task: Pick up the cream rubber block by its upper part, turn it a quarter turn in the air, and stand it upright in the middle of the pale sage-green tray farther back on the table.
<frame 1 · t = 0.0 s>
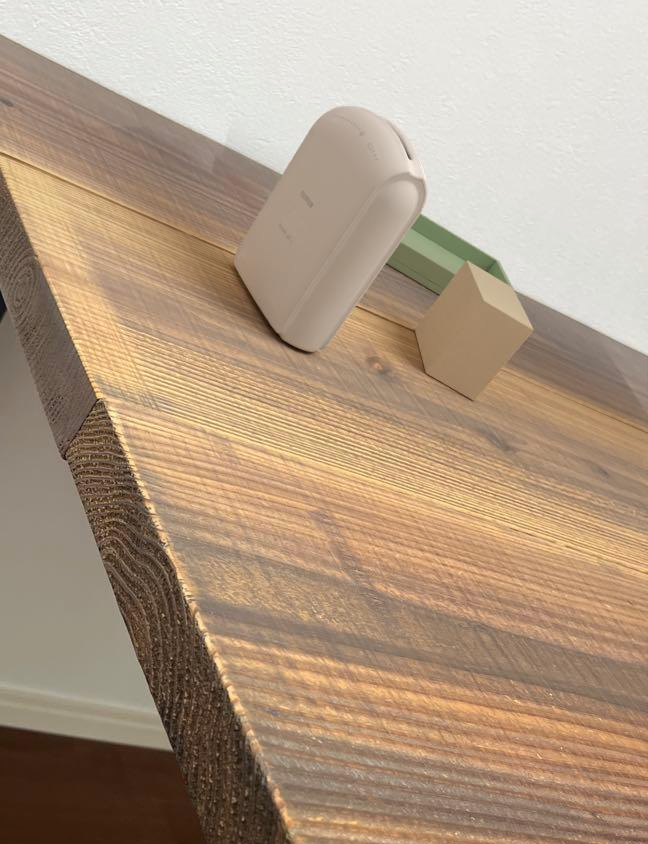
tray: (434, 269, 94), on the table
photo printer: (270, 309, 65), on the table
block: (442, 363, 73), on the table
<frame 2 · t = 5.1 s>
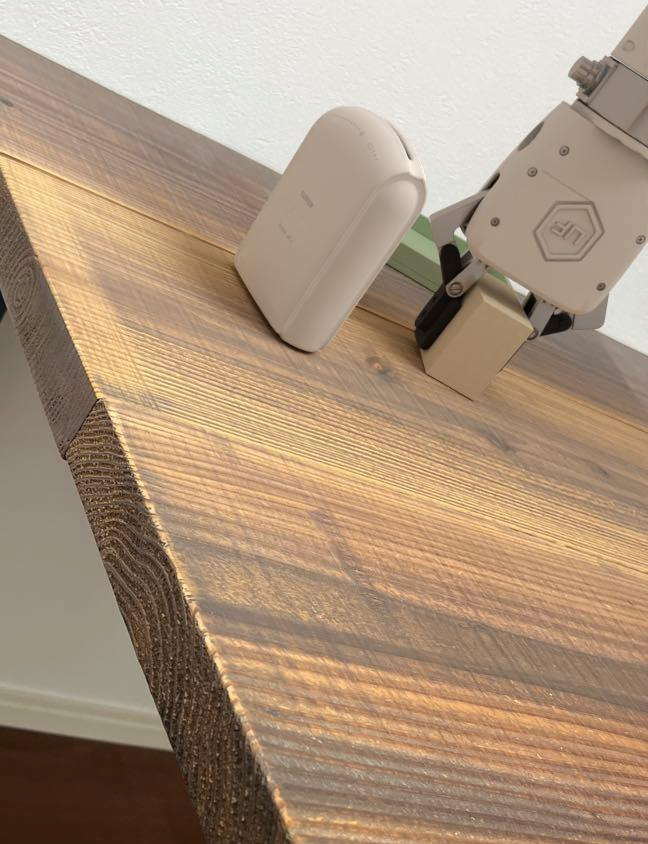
hand: (449, 355, 73), 1 cm above the table, tool pointing down, fingers closed on block, 4 cm apart
block: (442, 363, 73), on the table, touching gripper
everything else where it was.
when the fingers open (1 cm above the table, at t = 14.7 s): block stays where it is, resting on tray.
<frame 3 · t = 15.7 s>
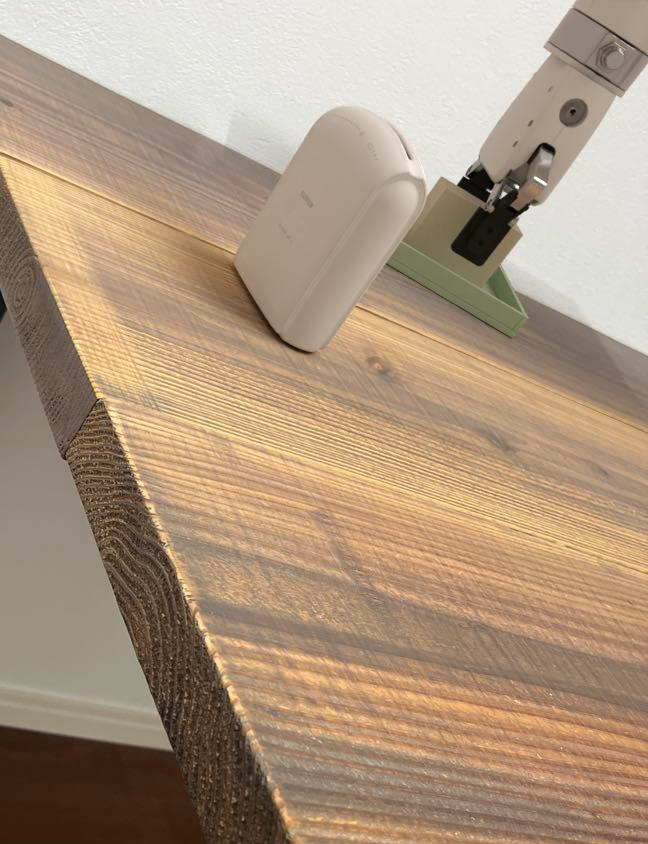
hand: (457, 240, 92), 3 cm above the table, tool pointing down, fingers open, 9 cm apart
block: (438, 263, 93), point 1 cm above the table, touching tray
everything else where it was.
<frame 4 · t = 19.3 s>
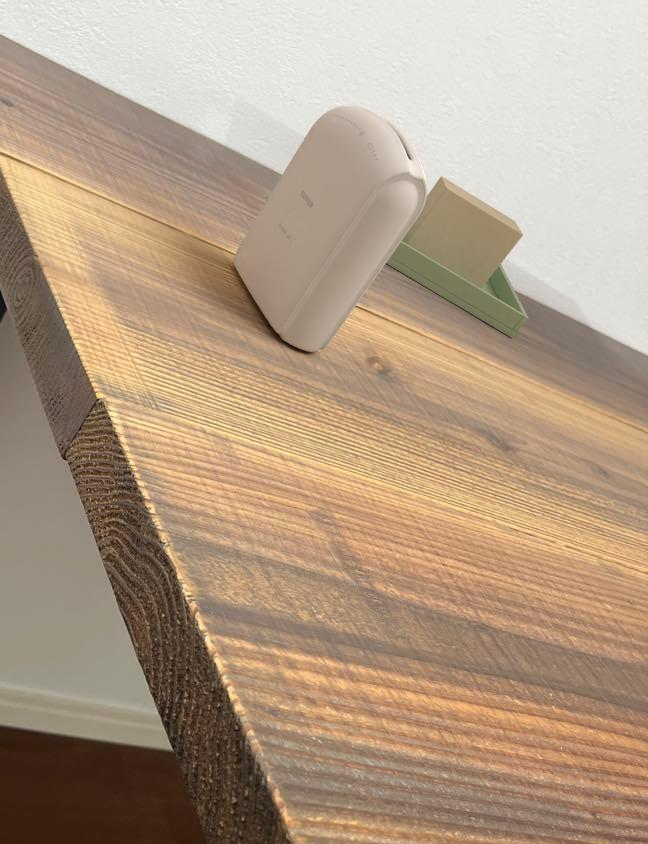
nothing on the table moved.
at the end: block inside the target area in the tray (0.0 cm from its centre), point 0.6 cm above the tray's base; block tilted 0°; the gripper is holding nothing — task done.
